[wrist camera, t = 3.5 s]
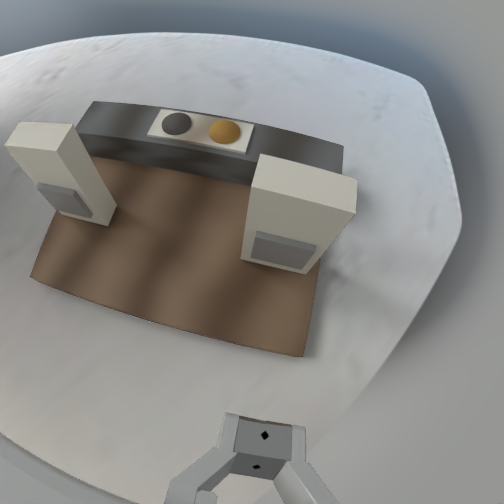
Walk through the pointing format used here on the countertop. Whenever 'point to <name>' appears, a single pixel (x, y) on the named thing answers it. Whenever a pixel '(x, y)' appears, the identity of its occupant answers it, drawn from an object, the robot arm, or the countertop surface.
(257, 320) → the console
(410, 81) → the countertop surface
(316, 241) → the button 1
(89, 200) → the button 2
